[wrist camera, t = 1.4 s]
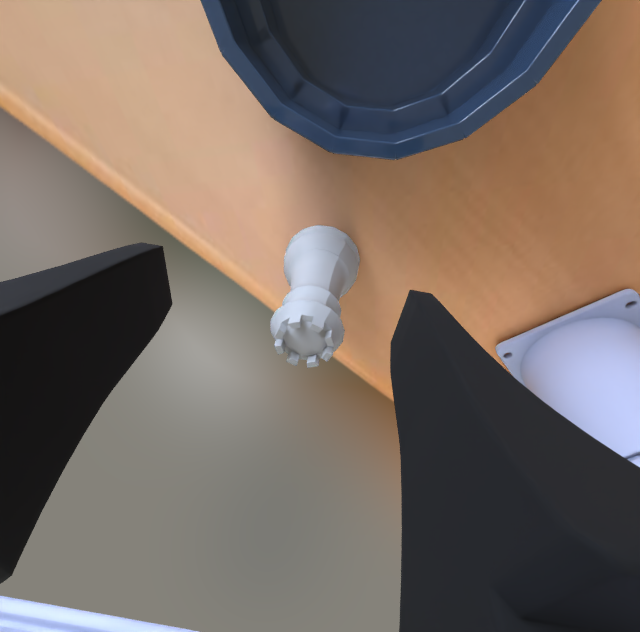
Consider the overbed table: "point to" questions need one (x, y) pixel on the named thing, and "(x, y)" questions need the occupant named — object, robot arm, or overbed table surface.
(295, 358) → the rook chess piece
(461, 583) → the robot arm
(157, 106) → the overbed table surface
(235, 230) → the overbed table surface
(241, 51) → the bowl
